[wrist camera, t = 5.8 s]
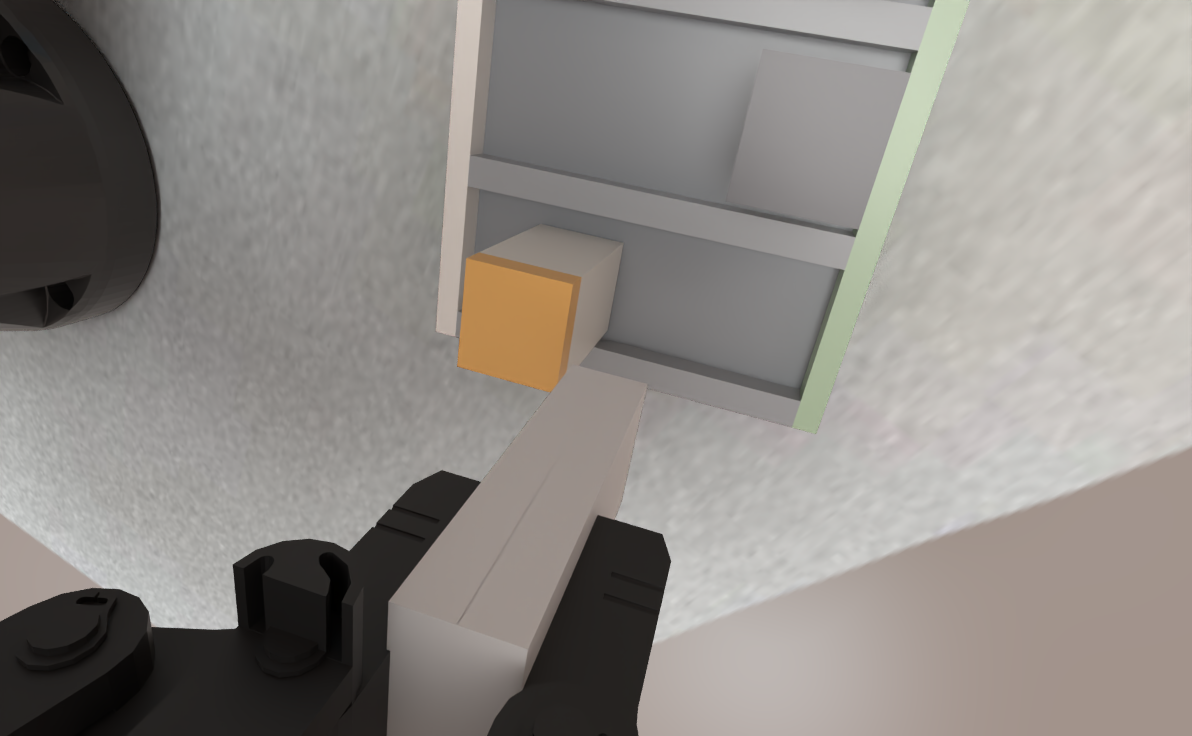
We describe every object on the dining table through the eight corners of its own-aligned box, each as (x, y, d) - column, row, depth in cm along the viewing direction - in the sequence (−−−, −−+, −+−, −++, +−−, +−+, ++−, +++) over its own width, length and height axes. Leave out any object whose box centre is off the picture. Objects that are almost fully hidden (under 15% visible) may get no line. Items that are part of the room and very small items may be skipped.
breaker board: (462, 314, 26) (435, 331, 24) (511, -267, 18) (478, -312, 17) (813, 407, 23) (816, 433, 21) (1031, -223, 16) (1066, -270, 14)
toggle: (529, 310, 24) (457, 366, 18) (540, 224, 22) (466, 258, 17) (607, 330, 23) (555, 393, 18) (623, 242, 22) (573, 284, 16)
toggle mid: (740, 177, 20) (725, 201, 15) (769, 66, 19) (763, 48, 13) (838, 198, 19) (858, 229, 14) (874, 84, 18) (911, 73, 13)
